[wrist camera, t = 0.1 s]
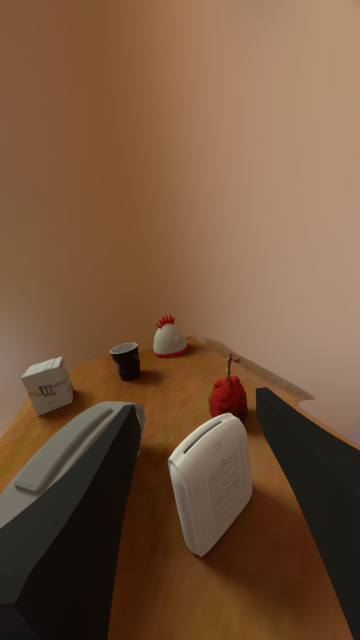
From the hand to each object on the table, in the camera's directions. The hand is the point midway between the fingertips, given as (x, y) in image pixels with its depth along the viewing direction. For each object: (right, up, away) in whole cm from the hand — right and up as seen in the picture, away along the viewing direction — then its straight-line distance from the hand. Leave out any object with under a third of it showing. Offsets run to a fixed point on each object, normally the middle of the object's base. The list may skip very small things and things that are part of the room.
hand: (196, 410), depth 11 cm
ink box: (-37, -19, +43) cm, 60 cm away
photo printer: (+4, -19, +13) cm, 23 cm away
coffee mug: (-17, -14, +50) cm, 54 cm away
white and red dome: (-5, -8, +67) cm, 67 cm away
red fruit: (+9, -15, +27) cm, 32 cm away
